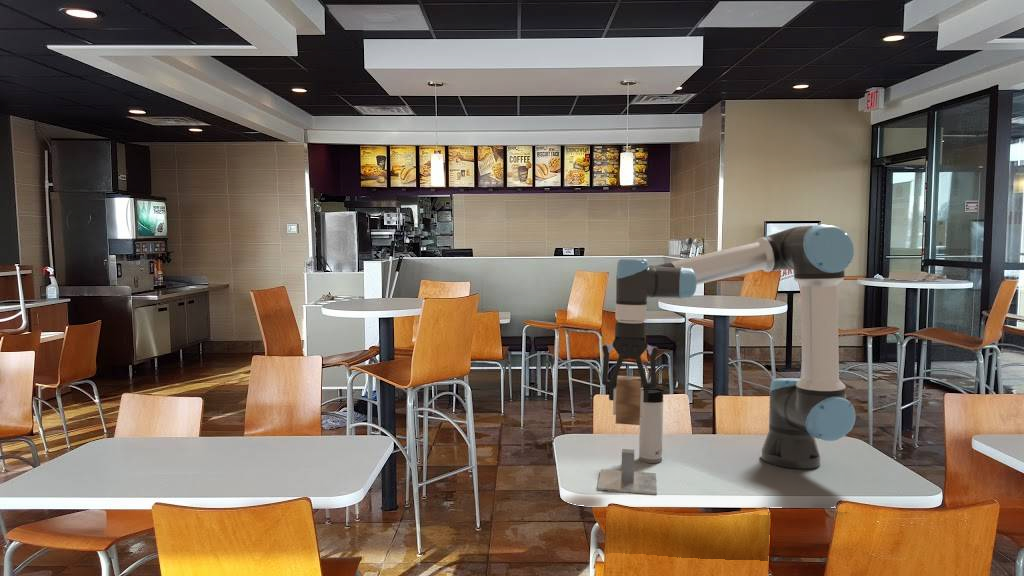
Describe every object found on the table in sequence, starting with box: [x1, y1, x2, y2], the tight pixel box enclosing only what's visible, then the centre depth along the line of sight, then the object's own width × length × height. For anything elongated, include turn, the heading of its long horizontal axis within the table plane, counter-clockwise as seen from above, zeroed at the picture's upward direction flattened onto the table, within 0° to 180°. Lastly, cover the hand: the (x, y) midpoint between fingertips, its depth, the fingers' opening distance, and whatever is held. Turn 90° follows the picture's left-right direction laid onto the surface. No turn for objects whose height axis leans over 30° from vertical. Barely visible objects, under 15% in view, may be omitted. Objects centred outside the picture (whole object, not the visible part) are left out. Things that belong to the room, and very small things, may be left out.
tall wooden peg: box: [615, 375, 642, 426], centre depth 166 cm, size 6×6×11 cm
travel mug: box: [638, 387, 666, 464], centre depth 185 cm, size 6×7×20 cm
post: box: [596, 448, 658, 495], centre depth 167 cm, size 14×14×8 cm
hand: (628, 414), depth 166 cm, fingers closed on tall wooden peg, 6 cm apart
